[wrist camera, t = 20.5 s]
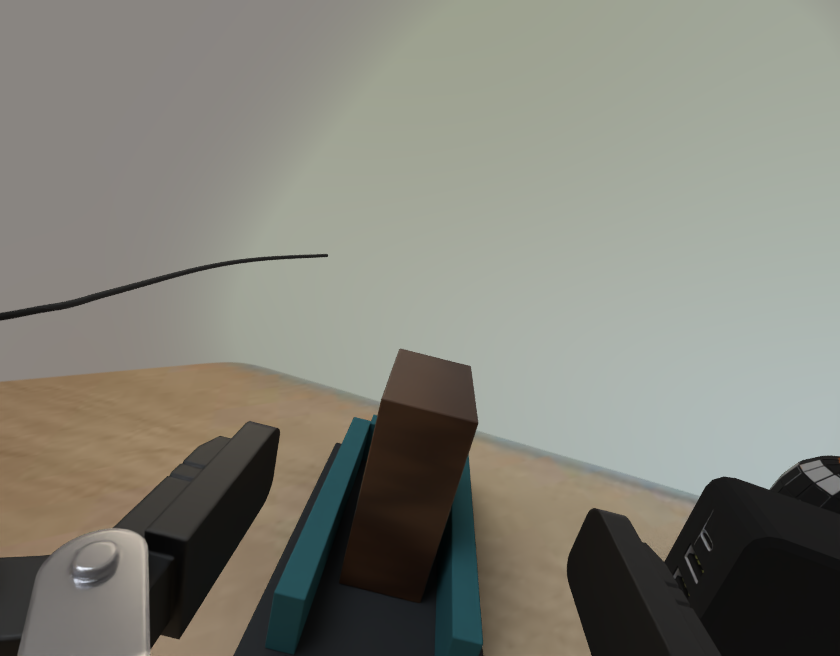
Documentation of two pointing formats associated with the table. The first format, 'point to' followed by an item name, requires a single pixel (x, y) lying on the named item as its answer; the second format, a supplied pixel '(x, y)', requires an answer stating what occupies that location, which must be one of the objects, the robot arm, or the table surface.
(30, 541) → the table surface
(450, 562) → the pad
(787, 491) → the grenade
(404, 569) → the walnut block
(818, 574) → the electronic device
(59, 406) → the table surface
